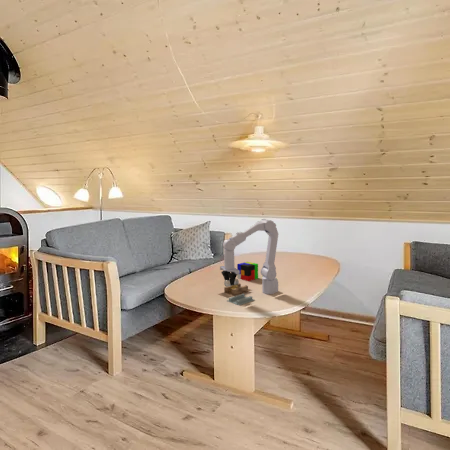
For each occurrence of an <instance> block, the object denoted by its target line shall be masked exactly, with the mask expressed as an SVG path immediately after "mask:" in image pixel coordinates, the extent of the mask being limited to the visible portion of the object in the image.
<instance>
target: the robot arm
mask: <svg viewBox="0 0 450 450" xmlns="http://www.w3.org/2000/svg"><path fill="white" fill-rule="evenodd" d="M262 231H263V232H265V233H266V234H267V236H268V239H267V247H266V252H265V253H266V255H265V262H264V263H262V267H261V269H260V274H261V276H262V279H261V280H262V281H261V282H262V284H261V285H262V287H261V289H262V291H261V293H263V294H264V295H273V294H276V293H278V292H279V280H278V279H277V267H276V264H275V262H276V261H275V260H276V255H277V247H278V241H279V240H278V239H279V232H278V229H277V224H276V223H275V222H274V221H273V220H269V219H267V218H263V219H261V220H258V221H257V222H255V223H254V224H253V225H252V226H250V227H249V228H247V229H245V230H244V231H243V232H241V231H239V232H238V231H236V232H235V235H232V236H229V238H228V239H225V240H223V243H222V247H223V256H224V257H223V260H224V261H223V262H224V263H223V265H221V266H219V271H221V270H222V271H221V275H222V276H223V279H224V281H225V280H230V285H234V282H235V279H237V274H240V271H239V270H237V268H235V249H236V247H238V246H239V245H241V244H243V243H244V242H246V240H247V237H250V236H251V235H253V234H255V233H256V232H262Z"/></svg>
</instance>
